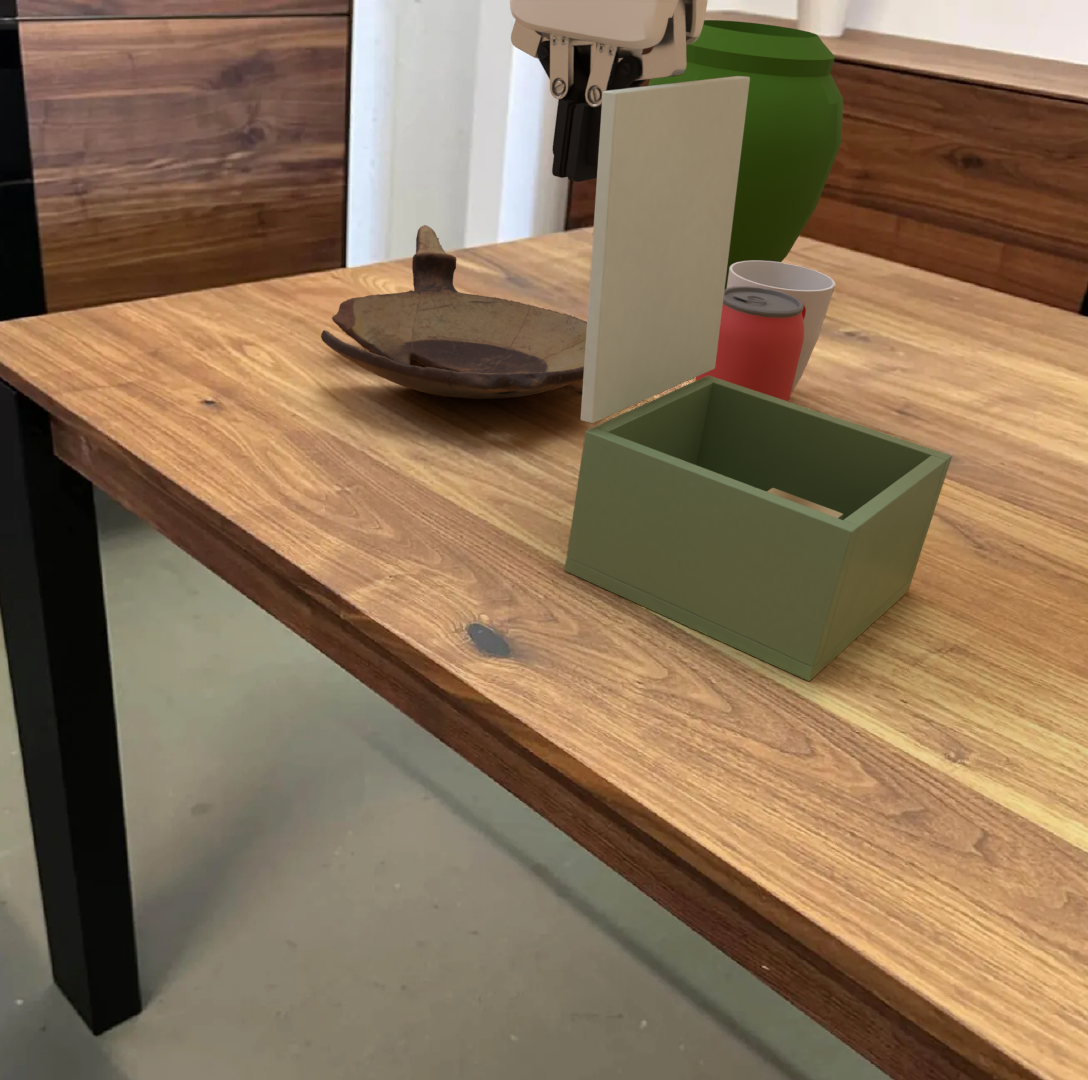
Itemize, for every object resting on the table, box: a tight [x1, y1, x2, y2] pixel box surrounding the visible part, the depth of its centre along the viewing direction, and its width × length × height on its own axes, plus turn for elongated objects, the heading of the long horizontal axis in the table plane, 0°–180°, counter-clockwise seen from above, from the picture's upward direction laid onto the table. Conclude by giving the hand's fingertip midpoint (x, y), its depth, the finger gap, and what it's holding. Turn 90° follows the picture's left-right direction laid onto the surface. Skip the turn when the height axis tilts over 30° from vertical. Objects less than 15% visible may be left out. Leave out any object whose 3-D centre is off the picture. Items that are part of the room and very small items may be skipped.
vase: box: [647, 19, 844, 290], centre depth 118 cm, size 20×20×24 cm
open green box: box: [564, 375, 953, 682], centre depth 70 cm, size 16×14×9 cm
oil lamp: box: [320, 224, 587, 400], centre depth 96 cm, size 22×30×8 cm
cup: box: [727, 261, 836, 394], centre depth 97 cm, size 8×8×10 cm
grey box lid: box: [580, 76, 750, 424], centre depth 67 cm, size 17×14×1 cm
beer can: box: [694, 286, 804, 402], centre depth 84 cm, size 7×7×12 cm
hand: (578, 175), depth 69 cm, fingers closed
